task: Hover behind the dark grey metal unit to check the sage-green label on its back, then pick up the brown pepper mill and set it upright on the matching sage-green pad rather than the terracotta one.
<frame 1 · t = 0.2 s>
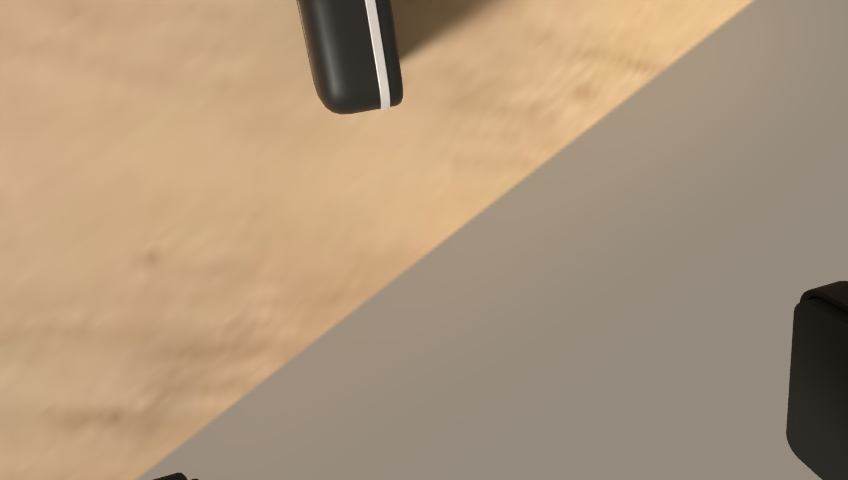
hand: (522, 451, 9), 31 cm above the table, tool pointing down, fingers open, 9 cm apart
battery charger: (335, 29, 35), on the table
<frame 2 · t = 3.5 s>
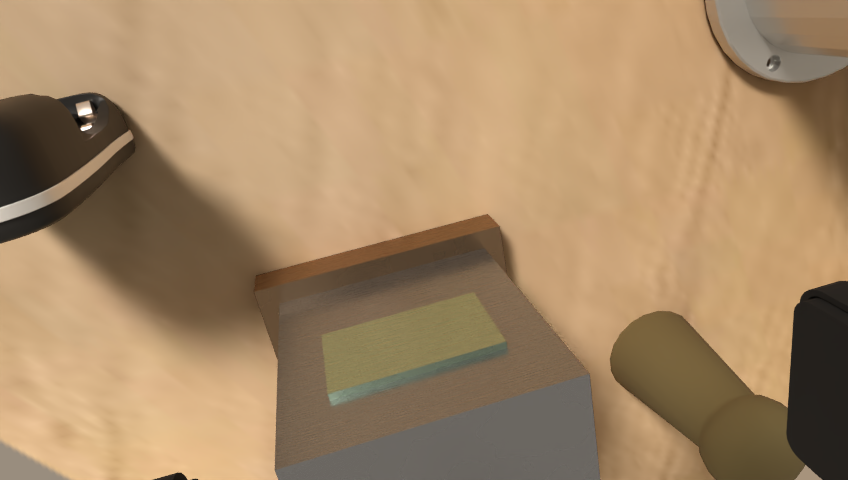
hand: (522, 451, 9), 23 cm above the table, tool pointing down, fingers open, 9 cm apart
grey unit: (388, 299, 34), on the table
battery charger: (52, 129, 27), on the table
brown pepper mill: (650, 350, 39), on the table
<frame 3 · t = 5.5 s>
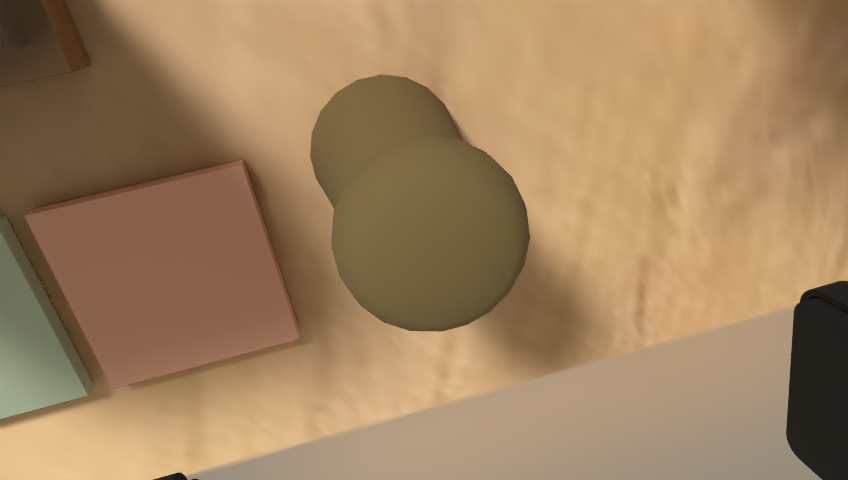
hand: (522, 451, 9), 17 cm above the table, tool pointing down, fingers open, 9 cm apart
brown pepper mill: (385, 150, 24), on the table
terracotta pad: (177, 274, 24), on the table
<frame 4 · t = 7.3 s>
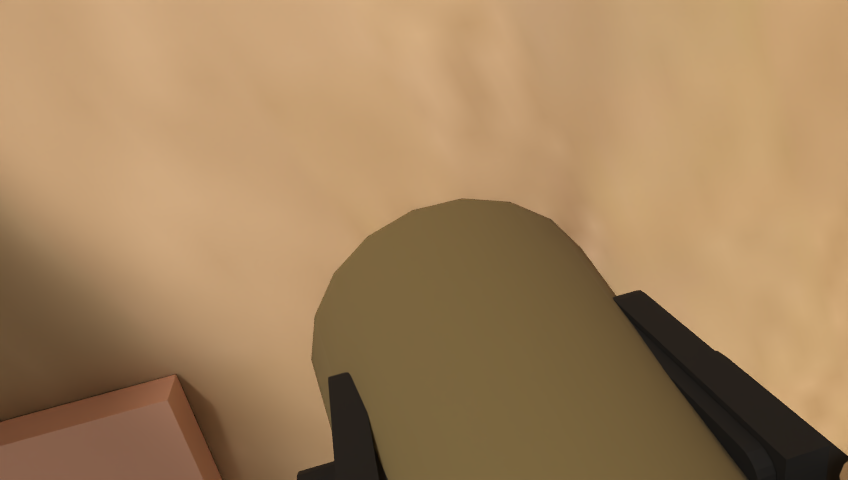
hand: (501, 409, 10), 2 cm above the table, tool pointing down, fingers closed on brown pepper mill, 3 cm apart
brown pepper mill: (459, 335, 12), on the table, touching gripper
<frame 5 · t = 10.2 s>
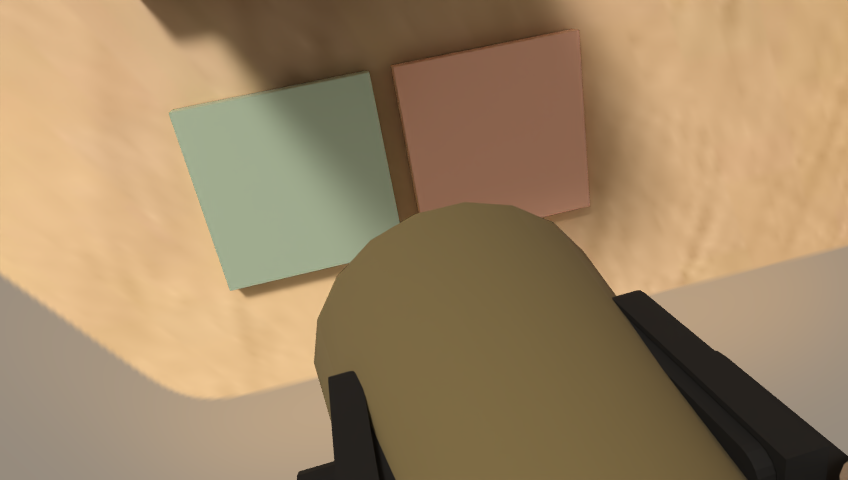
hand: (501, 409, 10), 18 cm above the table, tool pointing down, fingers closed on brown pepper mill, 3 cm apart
green pad: (296, 181, 26), on the table
brown pepper mill: (462, 338, 12), point 15 cm above the table, touching gripper
terracotta pad: (493, 138, 27), on the table
when the fingers open (4 cm above the table, at t = 13.3 s): brown pepper mill drops 1 cm, resting on green pad.
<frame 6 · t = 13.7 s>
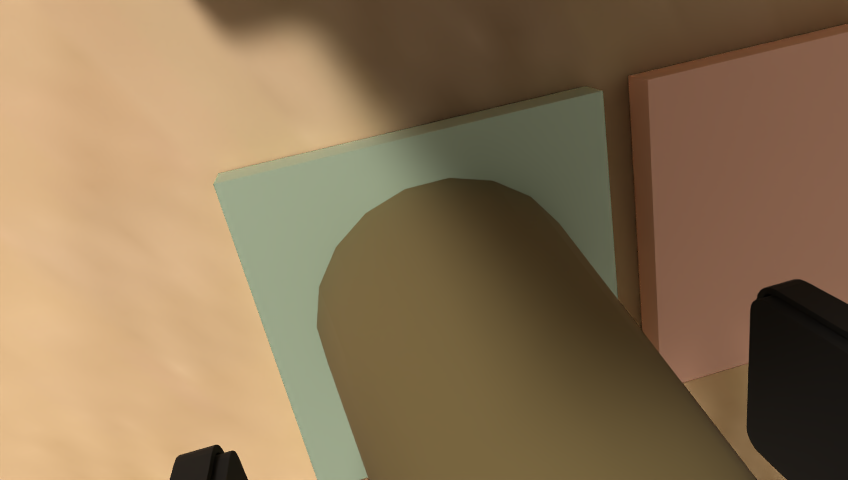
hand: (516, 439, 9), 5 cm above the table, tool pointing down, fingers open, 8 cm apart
green pad: (442, 292, 14), on the table
brown pepper mill: (450, 304, 13), point 1 cm above the table, touching green pad
terracotta pad: (783, 200, 15), on the table
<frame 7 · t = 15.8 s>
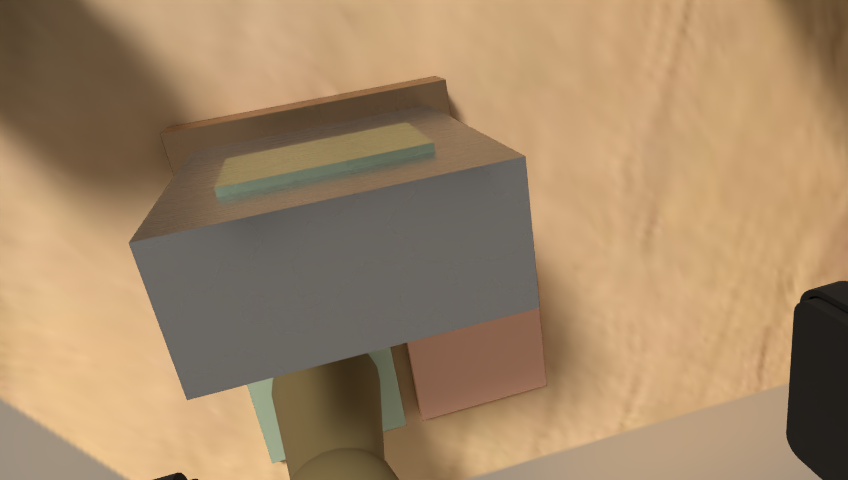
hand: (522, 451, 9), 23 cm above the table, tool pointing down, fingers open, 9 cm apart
grey unit: (322, 170, 30), on the table
green pad: (324, 379, 34), on the table
brown pepper mill: (326, 385, 33), point 1 cm above the table, touching green pad
terracotta pad: (473, 340, 35), on the table
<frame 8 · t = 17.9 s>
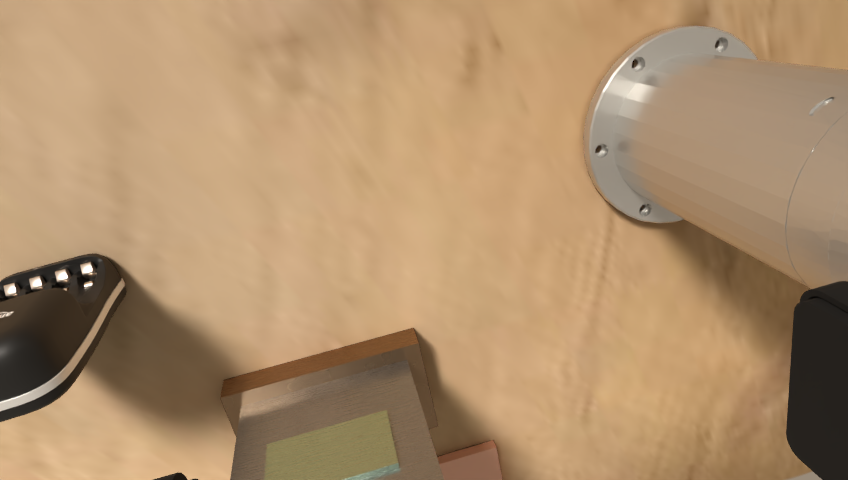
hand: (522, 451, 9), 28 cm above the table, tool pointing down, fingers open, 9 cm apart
grey unit: (333, 394, 41), on the table
battery charger: (62, 278, 35), on the table
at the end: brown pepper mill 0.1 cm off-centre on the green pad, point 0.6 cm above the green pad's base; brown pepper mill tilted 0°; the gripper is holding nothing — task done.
